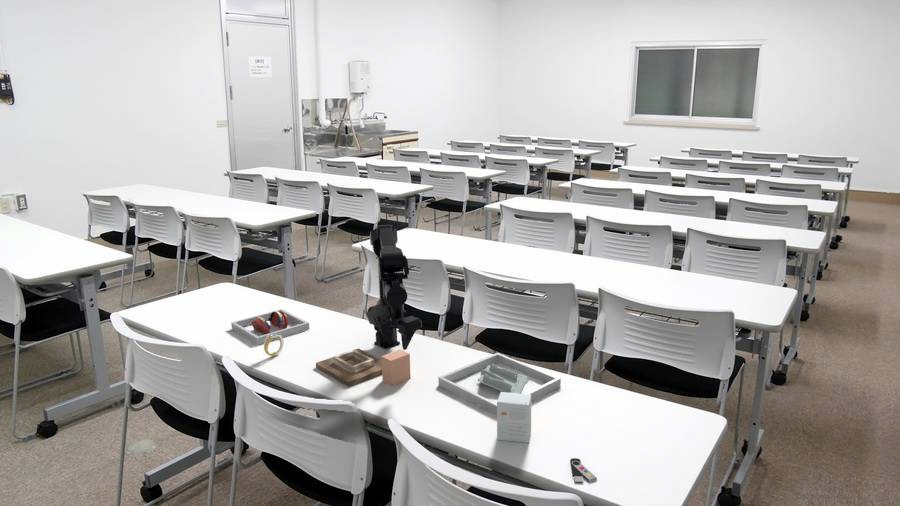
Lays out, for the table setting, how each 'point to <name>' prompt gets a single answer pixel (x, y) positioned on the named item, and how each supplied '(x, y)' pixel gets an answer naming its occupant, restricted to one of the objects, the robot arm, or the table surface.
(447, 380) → the bracket rim
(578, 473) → the usb flash drive
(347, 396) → the table surface
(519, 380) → the metal bracket
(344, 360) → the socket board
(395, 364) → the key block
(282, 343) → the ring
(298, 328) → the jewellery tray
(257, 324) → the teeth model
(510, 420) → the small box
